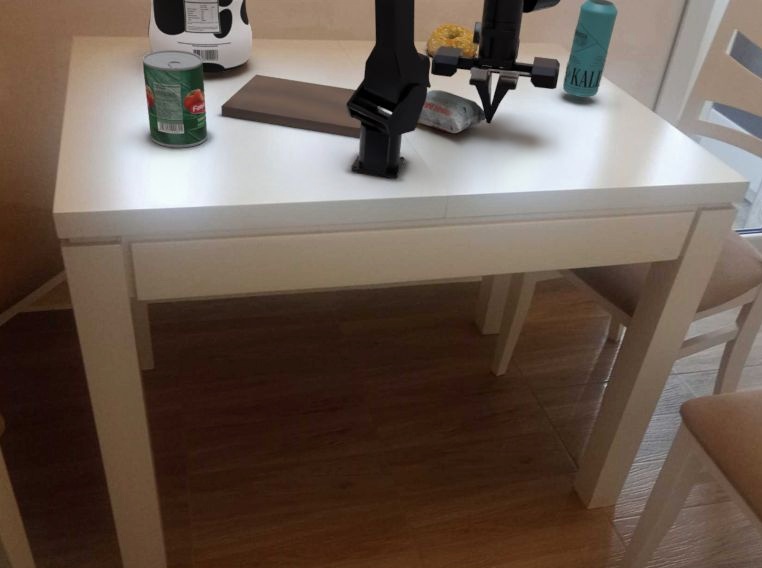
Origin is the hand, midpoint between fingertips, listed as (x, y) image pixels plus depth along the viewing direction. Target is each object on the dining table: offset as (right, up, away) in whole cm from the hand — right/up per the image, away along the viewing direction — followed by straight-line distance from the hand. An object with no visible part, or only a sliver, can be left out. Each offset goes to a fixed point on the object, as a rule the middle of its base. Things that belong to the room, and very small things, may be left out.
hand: (488, 122), depth 121 cm
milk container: (-49, +14, +15) cm, 53 cm away
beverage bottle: (+18, +9, +19) cm, 28 cm away
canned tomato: (-45, -5, -10) cm, 47 cm away
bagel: (-4, +24, +34) cm, 41 cm away
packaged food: (-7, 0, +2) cm, 8 cm away
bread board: (-29, +3, +3) cm, 29 cm away
